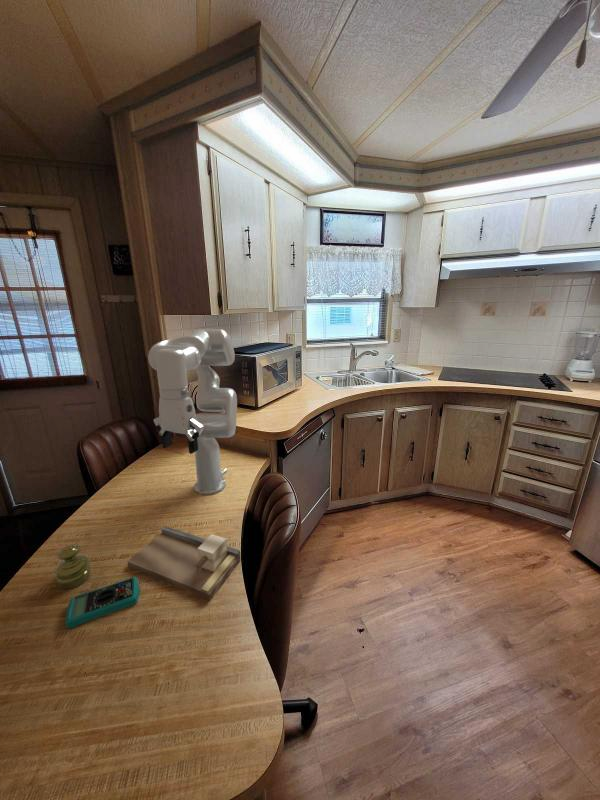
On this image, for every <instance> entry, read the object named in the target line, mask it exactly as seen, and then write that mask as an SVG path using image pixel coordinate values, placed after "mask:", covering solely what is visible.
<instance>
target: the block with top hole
mask: <svg viewBox="0 0 600 800" xmlns="http://www.w3.org/2000/svg"><path fill="white" fill-rule="evenodd" d="M205 539H206V540H205V541H204V542H203V543H202V544H201V545H200V546H199V547H198V558H199V562H198V563H197V564H196V566H197V568H199V572H201V567H202V568H205V569H207V570H210V571H213V572H215V571H216V570H217V568H218V567H219V566H220V565H221V564H222V562H223V561H224V560H225V559H226V557H227V546H228V545H227V538H225V537H222V536H218V535H216V534H210V535H209V536H208V537H207V538H205Z"/></svg>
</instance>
